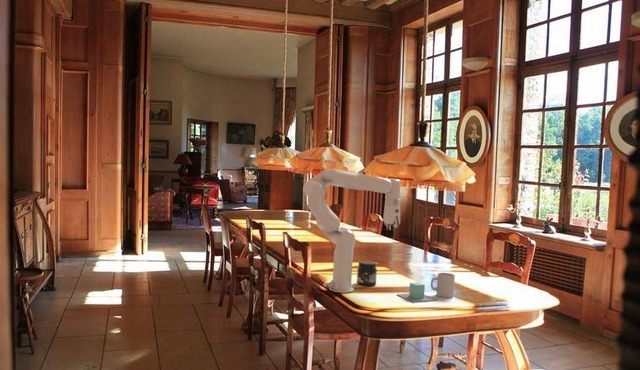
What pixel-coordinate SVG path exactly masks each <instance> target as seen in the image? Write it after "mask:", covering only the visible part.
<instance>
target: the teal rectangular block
mask: <svg viewBox="0 0 640 370" xmlns="http://www.w3.org/2000/svg"><path fill="white" fill-rule="evenodd" d="M425 285H426V284H424V283H421V282H419V281H418V282H409V293H408V294H409V296H410V297H412V298H415V299H418V298H424V295H425V289H426V287H425Z"/></svg>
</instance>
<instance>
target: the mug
mask: <svg viewBox="0 0 640 370" xmlns="http://www.w3.org/2000/svg"><path fill="white" fill-rule="evenodd" d="M455 278H456V275H455V274H454V273H450V272H439V273H437V276H434V277H432V278H431V281H430V289H431V290H432V291H436V294H435V295H436V296H437V297H439V298H445V299H450V298H454V297H455V296H454V293H455V281H456V280H455ZM434 281H437V282H436V284H437V285H436V287H435V286H434Z"/></svg>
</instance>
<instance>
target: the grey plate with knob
mask: <svg viewBox="0 0 640 370" xmlns="http://www.w3.org/2000/svg"><path fill="white" fill-rule="evenodd" d="M396 296H397V297H400V298H401V299H404V300H406V301H409V302H410V303H413V304H414V303H425V302H427V303H428V302H437V301H438V299H436V298H434V297H431V296H428V295H426V294H424V298H418V299H415V298H412V297H410V296H409V293H399V294H398V293H397V294H396Z"/></svg>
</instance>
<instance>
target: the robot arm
mask: <svg viewBox="0 0 640 370" xmlns="http://www.w3.org/2000/svg"><path fill="white" fill-rule="evenodd" d="M329 186H333V187H338V188H339V187H340V188H346V189H352V190H357V191H369V192H376V193H380V194H385V196H384V199H385V200H384V207H383V208H384V210H383V218H382V219H383V220H382V221H383V223H384V226H386V238H391V239H392V238H394V236H395V229H396V228H398V225H400V224H401V206H400V198H401V179H398V178H384V177H380V176H373V175H368V174H365V173H359V172H356V171H348V170H343V169H338V168H325V169H323V170H322V171H321V172H319V173H317V174H316V175H314V176H313V177H312V178H310V179H308V180H307V181H306V182H305V183H304V185H303V187H302V191H303V194H304V195H305V196H306V197H308V199H307V203H308V204H307V206H308V209H309V211H310V213H311V215H313V217H314V218H315V223H316V226H317V227H318V229H320V231H321V232H322V233H323V234H324V235H325V236H326V238H327V239H328V240H329V241H330V242H331V243H333V244H335V248H334V252H333V264H332V265H333V267H332V268H333V270H332V271H333V272H332V280H330V281H329V282H323V286H324V288H325V287H326V288H327V287H328V288H329V291H332V292H334V293H341V294H342V293H344V294H347V293H353V292H354V291H355V288H354V286H352V279H353V278H352V275H353V273H352V272H353V257H354V256H353V255H354V248H355V245H356V236H355V234H354V232H353V230H351V229H349V228H346V227H344V226H342V225H341V221H340V218H339V217H338V216H337V214H336V213H334V212H333V210H332V209H331V208H330V206H328V205H327V203H326V201H325V195H326V188H328V187H329Z"/></svg>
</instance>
